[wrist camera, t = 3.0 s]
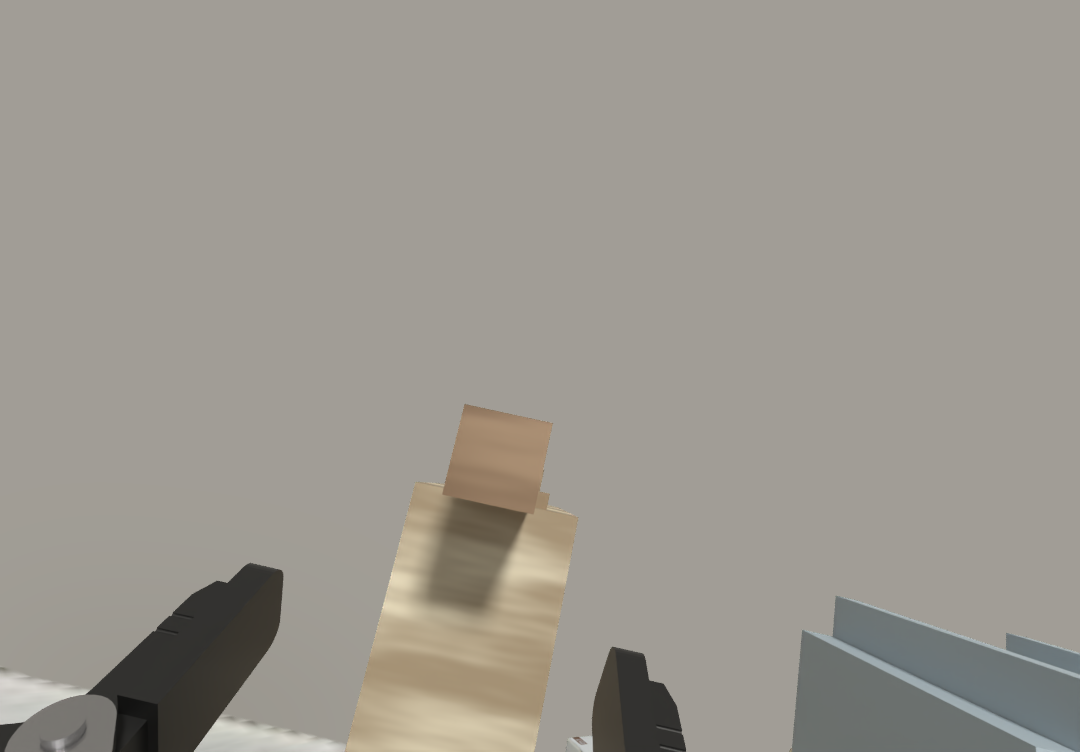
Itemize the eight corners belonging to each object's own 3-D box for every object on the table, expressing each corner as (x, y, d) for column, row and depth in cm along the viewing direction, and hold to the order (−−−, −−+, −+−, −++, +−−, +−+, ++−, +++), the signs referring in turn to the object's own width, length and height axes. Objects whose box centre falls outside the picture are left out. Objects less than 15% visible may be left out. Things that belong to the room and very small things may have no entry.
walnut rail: (482, 491, 45) (492, 447, 46) (526, 500, 45) (535, 456, 46) (442, 494, 21) (464, 404, 22) (533, 514, 21) (552, 423, 22)
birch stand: (348, 899, 39) (459, 451, 46) (475, 927, 39) (564, 474, 46) (233, 1176, 23) (428, 433, 31) (445, 1225, 23) (587, 467, 31)
